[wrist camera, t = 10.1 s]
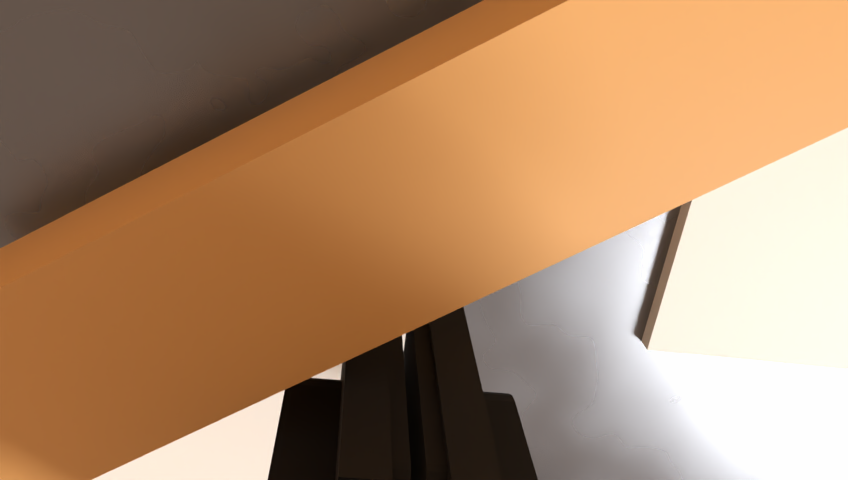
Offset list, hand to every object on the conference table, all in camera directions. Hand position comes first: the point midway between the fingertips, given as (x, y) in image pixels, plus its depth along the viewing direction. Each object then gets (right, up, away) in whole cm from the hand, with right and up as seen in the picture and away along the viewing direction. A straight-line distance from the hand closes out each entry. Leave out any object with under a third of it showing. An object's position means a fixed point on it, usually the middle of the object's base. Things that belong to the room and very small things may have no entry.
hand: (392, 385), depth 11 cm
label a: (+8, +2, +2) cm, 8 cm away
